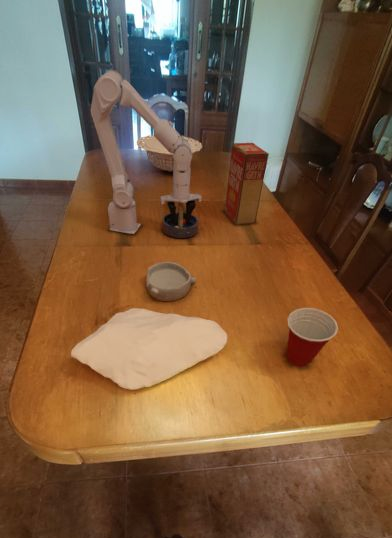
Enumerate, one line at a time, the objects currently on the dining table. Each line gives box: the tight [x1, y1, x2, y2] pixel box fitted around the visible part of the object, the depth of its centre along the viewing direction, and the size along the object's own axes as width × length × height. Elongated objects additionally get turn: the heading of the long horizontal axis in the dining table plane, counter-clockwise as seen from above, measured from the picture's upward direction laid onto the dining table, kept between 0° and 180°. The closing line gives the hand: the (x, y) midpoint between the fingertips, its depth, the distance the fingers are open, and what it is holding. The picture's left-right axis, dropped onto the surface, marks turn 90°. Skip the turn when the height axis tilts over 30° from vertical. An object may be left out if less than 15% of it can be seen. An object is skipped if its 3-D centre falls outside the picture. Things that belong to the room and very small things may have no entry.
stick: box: [177, 206, 184, 228], centre depth 116 cm, size 2×2×8 cm
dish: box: [145, 261, 197, 302], centre depth 93 cm, size 14×14×5 cm
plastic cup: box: [285, 307, 339, 368], centre depth 74 cm, size 11×11×12 cm
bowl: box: [161, 211, 200, 239], centre depth 118 cm, size 13×13×4 cm
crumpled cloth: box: [70, 307, 229, 391], centre depth 73 cm, size 24×35×9 cm
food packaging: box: [223, 142, 270, 226], centre depth 122 cm, size 13×9×25 cm
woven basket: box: [136, 134, 203, 173], centre depth 157 cm, size 32×32×13 cm
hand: (180, 221), depth 117 cm, fingers open, 4 cm apart
